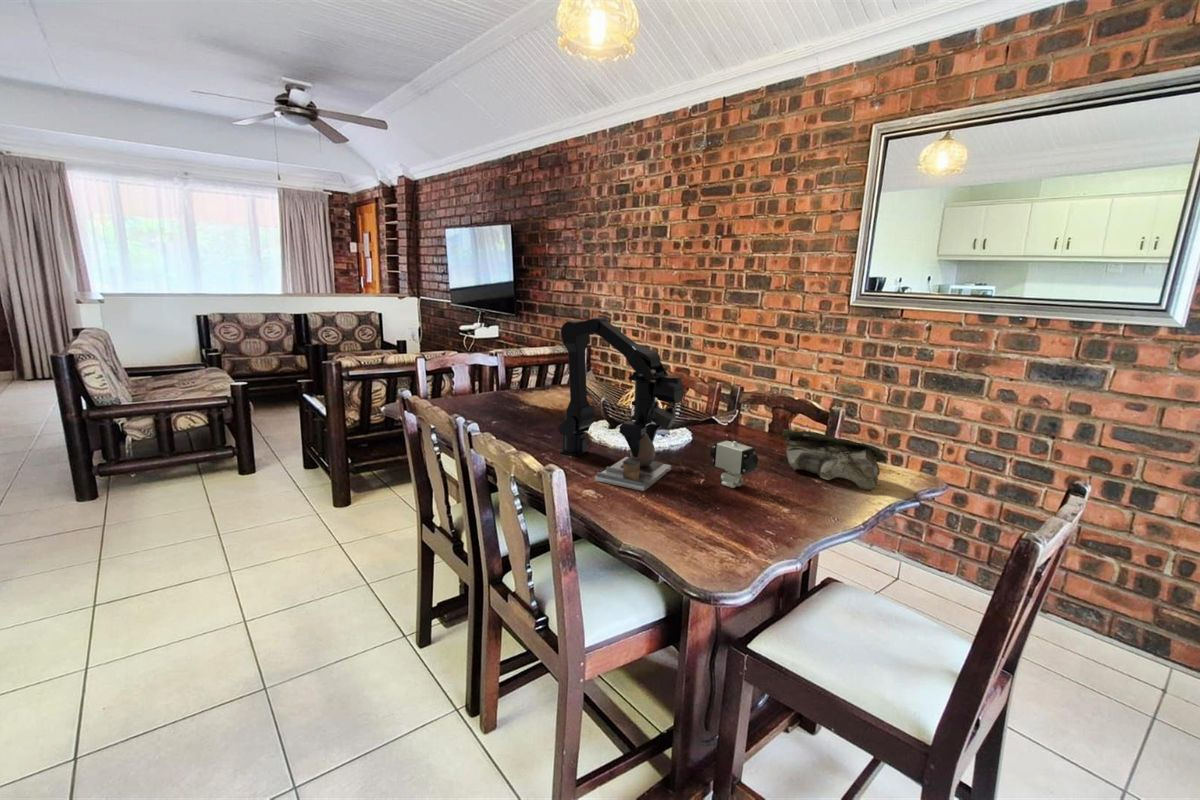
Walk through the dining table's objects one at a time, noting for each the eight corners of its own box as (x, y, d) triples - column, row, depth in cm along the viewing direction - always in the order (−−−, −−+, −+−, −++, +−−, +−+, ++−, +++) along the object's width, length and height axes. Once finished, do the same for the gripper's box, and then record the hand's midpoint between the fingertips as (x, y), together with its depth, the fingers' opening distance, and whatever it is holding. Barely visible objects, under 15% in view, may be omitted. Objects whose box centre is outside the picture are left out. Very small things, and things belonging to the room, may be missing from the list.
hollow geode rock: (776, 479, 160) (762, 452, 150) (792, 444, 165) (779, 415, 155) (878, 505, 141) (870, 475, 132) (892, 464, 146) (885, 433, 136)
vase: (654, 469, 148) (656, 438, 146) (629, 467, 148) (631, 437, 146) (653, 460, 154) (655, 431, 152) (629, 459, 154) (630, 430, 152)
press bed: (595, 480, 142) (595, 472, 141) (626, 460, 158) (626, 453, 158) (643, 491, 136) (644, 483, 135) (671, 469, 152) (671, 462, 151)
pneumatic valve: (745, 494, 136) (749, 448, 133) (707, 481, 144) (710, 437, 141) (757, 489, 139) (761, 444, 137) (719, 476, 148) (723, 434, 145)
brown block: (622, 480, 139) (623, 461, 138) (628, 475, 142) (629, 457, 141) (633, 482, 138) (634, 463, 137) (639, 478, 141) (640, 459, 140)
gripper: (659, 408, 135) (656, 467, 138) (684, 395, 151) (681, 448, 155) (619, 402, 140) (617, 459, 144) (648, 390, 156) (645, 442, 160)
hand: (642, 452), depth 150 cm, fingers open, 9 cm apart
